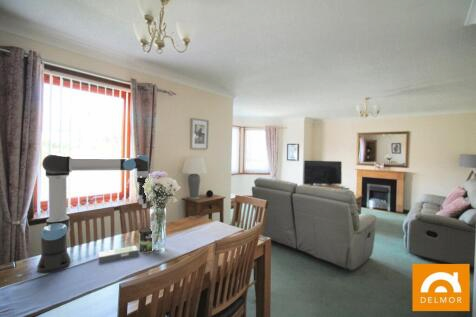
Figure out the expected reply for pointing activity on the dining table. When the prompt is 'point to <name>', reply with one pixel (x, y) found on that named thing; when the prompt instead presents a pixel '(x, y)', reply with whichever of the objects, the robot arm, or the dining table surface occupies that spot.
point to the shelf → (118, 254)
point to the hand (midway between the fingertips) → (142, 206)
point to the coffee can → (145, 240)
